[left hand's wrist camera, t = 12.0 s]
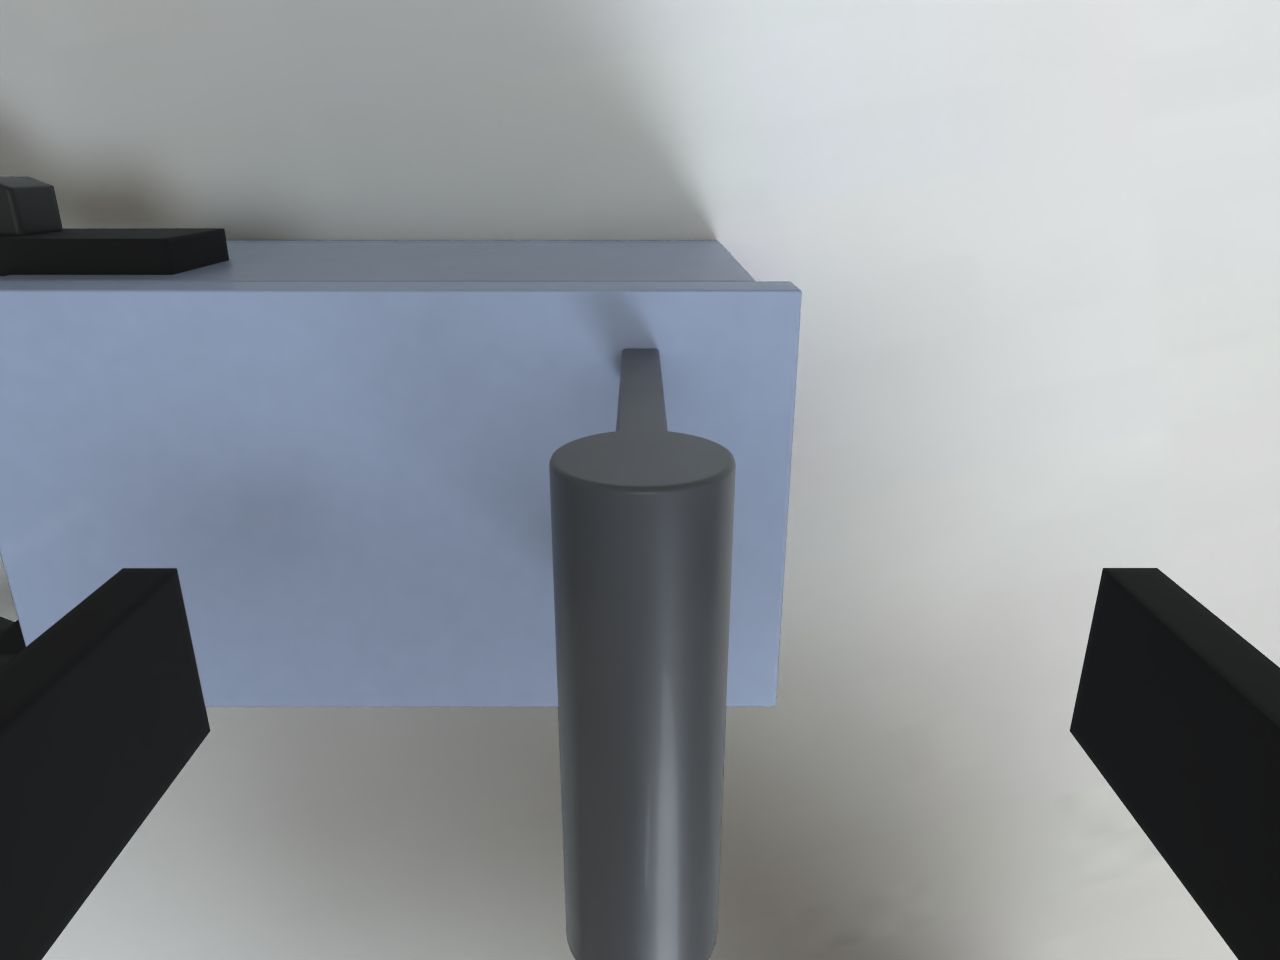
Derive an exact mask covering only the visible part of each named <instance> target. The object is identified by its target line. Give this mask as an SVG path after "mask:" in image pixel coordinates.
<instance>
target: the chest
mask: <svg viewBox="0 0 1280 960" xmlns="http://www.w3.org/2000/svg"><path fill="white" fill-rule="evenodd" d="M226 242H227V249H228V255H229V260H228V261H225V262H221V263H217V264H213V265H209V266H205V267H201V268H197V269H194V270H190V271H186V272H182V273H178V274H174V275H7V276H2V277H0V282H756V281H755V280H754V279H753V278H752V277H751V276H750V275H749V274H748V272H747V271H746V270H745V269H744V268H743V267H742V266H741V265H740V264H739V263H738V262H737V261H736V260H735V258H734V257H733V256H732V255H731V254H730V253H729V252H728V251H727V250H726V249H725V248H724V247H723V246H722V244H720V242H719V241H716V240H226Z"/></svg>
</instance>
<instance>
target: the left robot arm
mask: <svg viewBox="0 0 1280 960" xmlns="http://www.w3.org/2000/svg"><path fill="white" fill-rule="evenodd" d="M209 732H210V727H209V723H208V718H207V713H206V708H205V703H204V698H203V693H202V688H201V683H200V678H199V674H198V669H197V664H196V659H195V654H194V649H193V644H192V639H191V634H190V630H189V625H188V620H187V615H186V610H185V605H184V600H183V595H182V590H181V586H180V581H179V576H178V571H177V568H122V569H121V570H120V571H119V572H118V573H116V574H115V575H114V576H113V577H111V578H110V579H109V580H108V581H106V582H105V583H104V584H103V585H102V586H100V587H99V588H98V589H97V590H95V591H94V592H93V593H92V594H90V595H89V596H88V597H87V598H86V599H84V600H83V601H82V602H81V603H79V604H78V605H77V606H76V607H75V608H73V609H72V610H71V611H70V612H68V613H67V614H66V615H65V616H63V617H62V618H61V619H60V620H59V621H57V622H56V623H55V624H54V625H52V626H51V627H50V628H49V629H47V630H46V631H45V632H44V633H43V634H41V635H40V636H39V637H38V638H36V639H35V640H34V641H33V642H31V643H30V644H29V645H28V646H27V647H25V648H24V649H23V650H22V651H20V652H19V653H18V654H17V655H15V656H14V657H13V658H12V659H11V660H9V661H8V662H7V663H6V664H4V665H3V666H2V667H1V668H0V960H42V958H43V957H44V956H45V954H46V953H47V952H48V950H49V949H50V947H51V946H52V945H53V943H54V942H55V941H56V939H57V938H58V937H59V935H60V934H61V933H62V931H63V930H64V928H65V927H66V926H67V924H68V923H69V922H70V920H71V919H72V918H73V916H74V915H75V914H76V912H77V911H78V910H79V908H80V907H81V905H82V904H83V903H84V901H85V900H86V899H87V897H88V896H89V895H90V893H91V892H92V891H93V889H94V888H95V886H96V885H97V884H98V882H99V881H100V880H101V878H102V877H103V876H104V874H105V873H106V872H107V870H108V869H109V867H110V866H111V865H112V863H113V862H114V861H115V859H116V858H117V857H118V855H119V854H120V853H121V851H122V850H123V848H124V847H125V846H126V844H127V843H128V842H129V840H130V839H131V838H132V836H133V835H134V834H135V832H136V831H137V829H138V828H139V827H140V825H141V824H142V823H143V821H144V820H145V819H146V817H147V816H148V815H149V813H150V812H151V810H152V809H153V808H154V806H155V805H156V804H157V802H158V801H159V800H160V798H161V797H162V796H163V794H164V793H165V792H166V790H167V789H168V787H169V786H170V785H171V783H172V782H173V781H174V779H175V778H176V777H177V775H178V774H179V773H180V771H181V770H182V768H183V767H184V766H185V764H186V763H187V762H188V760H189V759H190V758H191V756H192V755H193V754H194V752H195V751H196V749H197V748H198V747H199V745H200V744H201V743H202V741H203V740H204V739H205V737H206V736H207V735H208V733H209ZM1070 732H1071V733H1072V735H1073V736H1074V737H1075V739H1076V740H1077V741H1078V743H1079V744H1080V745H1081V747H1082V748H1083V749H1084V751H1085V752H1086V754H1087V755H1088V756H1089V758H1090V759H1091V760H1092V762H1093V763H1094V764H1095V766H1096V767H1097V768H1098V770H1099V771H1100V773H1101V774H1102V775H1103V777H1104V778H1105V779H1106V781H1107V782H1108V783H1109V785H1110V786H1111V787H1112V789H1113V790H1114V792H1115V793H1116V794H1117V796H1118V797H1119V798H1120V800H1121V801H1122V802H1123V804H1124V805H1125V806H1126V808H1127V809H1128V810H1129V812H1130V813H1131V815H1132V816H1133V817H1134V819H1135V820H1136V821H1137V823H1138V824H1139V825H1140V827H1141V828H1142V829H1143V831H1144V832H1145V834H1146V835H1147V836H1148V838H1149V839H1150V840H1151V842H1152V843H1153V844H1154V846H1155V847H1156V848H1157V850H1158V851H1159V853H1160V854H1161V855H1162V857H1163V858H1164V859H1165V861H1166V862H1167V863H1168V865H1169V866H1170V867H1171V869H1172V870H1173V872H1174V873H1175V874H1176V876H1177V877H1178V878H1179V880H1180V881H1181V882H1182V884H1183V885H1184V886H1185V888H1186V889H1187V891H1188V892H1189V893H1190V895H1191V896H1192V897H1193V899H1194V900H1195V901H1196V903H1197V904H1198V905H1199V907H1200V908H1201V910H1202V911H1203V912H1204V914H1205V915H1206V916H1207V918H1208V919H1209V920H1210V922H1211V923H1212V924H1213V926H1214V927H1215V929H1216V930H1217V931H1218V933H1219V934H1220V935H1221V937H1222V938H1223V939H1224V941H1225V942H1226V943H1227V945H1228V946H1229V947H1230V949H1231V950H1232V952H1233V953H1234V954H1235V956H1236V957H1237V958H1238V960H1280V668H1279V667H1278V666H1277V665H1276V664H1274V663H1273V662H1272V661H1271V660H1269V659H1268V658H1267V657H1266V656H1265V655H1263V654H1262V653H1261V652H1260V651H1258V650H1257V649H1256V648H1255V647H1253V646H1252V645H1251V644H1250V643H1249V642H1247V641H1246V640H1245V639H1244V638H1242V637H1241V636H1240V635H1239V634H1237V633H1236V632H1235V631H1234V630H1233V629H1231V628H1230V627H1229V626H1228V625H1226V624H1225V623H1224V622H1223V621H1221V620H1220V619H1219V618H1218V617H1217V616H1215V615H1214V614H1213V613H1212V612H1210V611H1209V610H1208V609H1207V608H1205V607H1204V606H1203V605H1202V604H1201V603H1199V602H1198V601H1197V600H1196V599H1194V598H1193V597H1192V596H1191V595H1190V594H1188V593H1187V592H1186V591H1185V590H1183V589H1182V588H1181V587H1180V586H1178V585H1177V584H1176V583H1175V582H1174V581H1172V580H1171V579H1170V578H1169V577H1167V576H1166V575H1165V574H1164V573H1162V572H1161V571H1160V570H1159V569H1158V568H1103V571H1102V576H1101V581H1100V585H1099V590H1098V595H1097V600H1096V605H1095V610H1094V615H1093V620H1092V625H1091V630H1090V634H1089V639H1088V644H1087V649H1086V654H1085V659H1084V664H1083V669H1082V674H1081V678H1080V683H1079V688H1078V693H1077V698H1076V703H1075V708H1074V713H1073V718H1072V723H1071V727H1070Z"/></svg>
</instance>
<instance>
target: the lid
mask: <svg viewBox="0 0 1280 960" xmlns="http://www.w3.org/2000/svg"><path fill="white" fill-rule="evenodd" d="M801 294H802V292H801V290H800V289H799V288H797V287H796V286H795V285H794V284H793V283H791V282H0V554H1V557H2V561H3V565H4V568H5V572H6V576H7V579H8V583H9V587H10V590H11V594H12V598H13V601H14V605H15V608H16V612H17V616H18V619H19V623H20V627H21V630H22V634H23V638H24V641H25V645H26V647H27V646H28V645H29V644H30V643H31V642H33V641H34V640H35V639H36V638H38V637H39V636H40V635H41V634H43V633H44V632H45V631H46V630H47V629H49V628H50V627H51V626H52V625H54V624H55V623H56V622H57V621H59V620H60V619H61V618H62V617H63V616H65V615H66V614H67V613H68V612H70V611H71V610H72V609H73V608H75V607H76V606H77V605H78V604H79V603H81V602H82V601H83V600H84V599H86V598H87V597H88V596H89V595H90V594H92V593H93V592H94V591H95V590H97V589H98V588H99V587H100V586H102V585H103V584H104V583H105V582H106V581H108V580H109V579H110V578H111V577H113V576H114V575H115V574H116V573H118V572H119V571H120V570H121V569H122V568H177V571H178V576H179V581H180V586H181V590H182V595H183V600H184V605H185V610H186V615H187V620H188V625H189V630H190V634H191V639H192V644H193V649H194V654H195V659H196V664H197V669H198V674H199V678H200V683H201V688H202V693H203V698H204V703H205V707H558V717H559V744H560V771H561V798H562V824H563V851H564V878H565V905H566V932H567V940H568V944H569V947H570V950H571V952H572V954H573V956H574V958H575V959H576V960H708V959H709V958H710V956H711V954H712V952H713V950H714V947H715V943H716V938H717V925H718V900H719V875H720V850H721V825H722V800H723V774H724V749H725V724H726V706H775V705H776V694H777V678H778V662H779V646H780V630H781V614H782V598H783V582H784V566H785V550H786V534H787V518H788V502H789V486H790V470H791V454H792V438H793V422H794V406H795V390H796V374H797V358H798V342H799V326H800V310H801Z"/></svg>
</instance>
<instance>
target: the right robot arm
mask: <svg viewBox="0 0 1280 960" xmlns="http://www.w3.org/2000/svg"><path fill="white" fill-rule="evenodd" d="M228 260H229V255H228V249H227V242H226V236H225V230H224V228H203V229H63V228H62V224H61V219H60V214H59V210H58V205H57V201H56V196H55V192H54V187H53V186H51V185H49V184H46V183H44V182H41V181H38V180H36V179H33V178H31V177H0V276H7V275H174V274H178V273H182V272H186V271H190V270H194V269H197V268H201V267H205V266H209V265H213V264H217V263H221V262H225V261H228ZM25 647H26V645H25V641H24V638H23V634H22V630H21V627H20V623H19V620H17V621H16V622H12V621H10V620H7V619H5V618H2V617H0V668H1V667H2V666H3V665H4V664H6V663H7V662H8V661H9V660H11V659H12V658H13V657H14V656H15V655H17V654H18V653H19V652H20V651H22V650H23V649H24V648H25Z"/></svg>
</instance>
